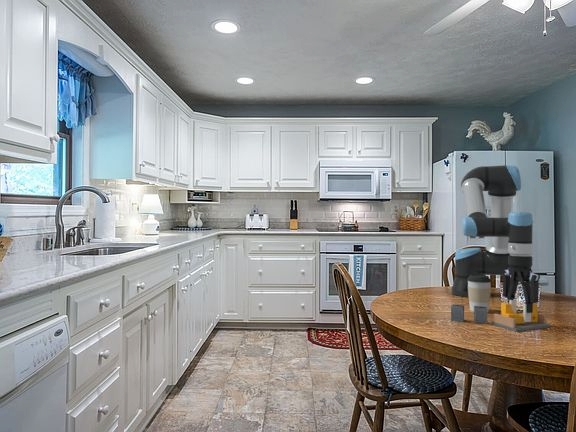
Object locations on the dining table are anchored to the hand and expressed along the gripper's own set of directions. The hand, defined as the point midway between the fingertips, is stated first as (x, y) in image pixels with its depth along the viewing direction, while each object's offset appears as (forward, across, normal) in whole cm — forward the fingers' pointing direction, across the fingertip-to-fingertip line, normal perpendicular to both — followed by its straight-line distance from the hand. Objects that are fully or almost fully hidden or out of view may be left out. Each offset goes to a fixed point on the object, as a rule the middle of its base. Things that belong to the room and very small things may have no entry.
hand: (519, 319), depth 139 cm
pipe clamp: (+1, 0, 0) cm, 1 cm away
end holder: (+2, 0, 0) cm, 2 cm away
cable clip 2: (+2, -8, -10) cm, 13 cm away
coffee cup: (+2, -22, +4) cm, 22 cm away
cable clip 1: (+2, -13, -16) cm, 21 cm away
